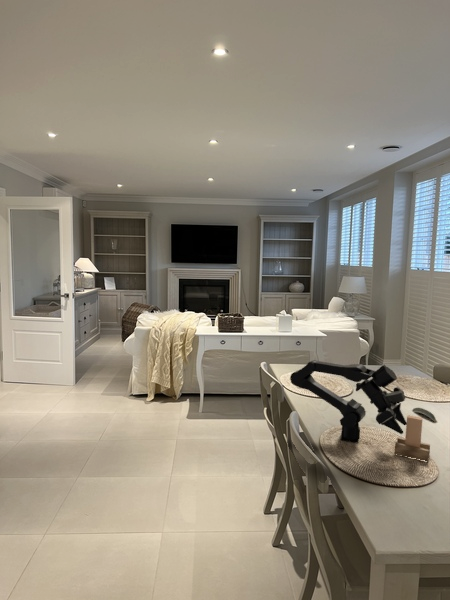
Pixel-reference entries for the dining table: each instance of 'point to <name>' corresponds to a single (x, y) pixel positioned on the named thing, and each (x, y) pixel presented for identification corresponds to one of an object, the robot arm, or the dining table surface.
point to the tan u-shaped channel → (412, 450)
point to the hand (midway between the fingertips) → (404, 428)
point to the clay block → (413, 431)
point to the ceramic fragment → (427, 413)
